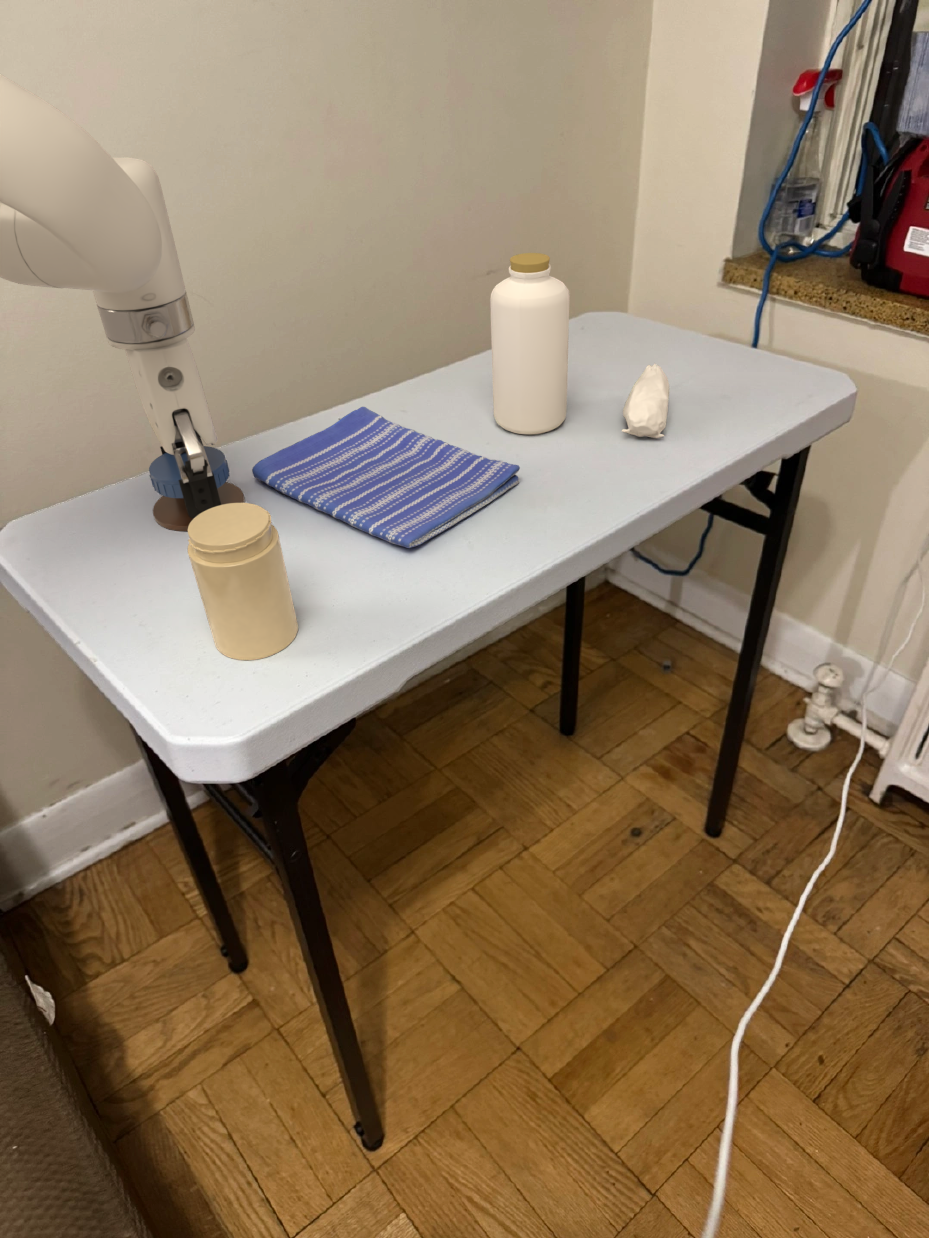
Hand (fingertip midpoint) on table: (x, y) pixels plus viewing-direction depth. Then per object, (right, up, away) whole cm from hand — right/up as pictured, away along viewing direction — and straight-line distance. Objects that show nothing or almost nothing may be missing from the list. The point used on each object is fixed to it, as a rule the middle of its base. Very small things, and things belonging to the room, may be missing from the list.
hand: (195, 494), depth 86 cm
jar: (+10, -14, -16) cm, 23 cm away
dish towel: (+19, +2, +3) cm, 19 cm away
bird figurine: (+48, +9, +11) cm, 50 cm away
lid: (0, +3, -2) cm, 3 cm away
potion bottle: (+34, +10, +13) cm, 38 cm away
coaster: (0, -1, +1) cm, 2 cm away
